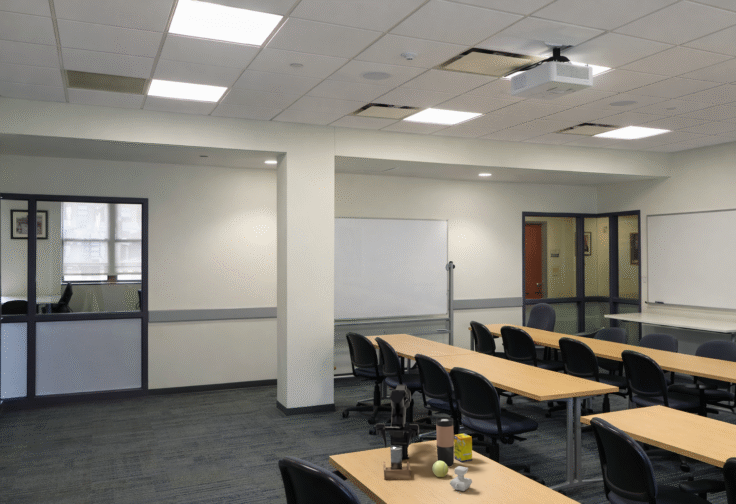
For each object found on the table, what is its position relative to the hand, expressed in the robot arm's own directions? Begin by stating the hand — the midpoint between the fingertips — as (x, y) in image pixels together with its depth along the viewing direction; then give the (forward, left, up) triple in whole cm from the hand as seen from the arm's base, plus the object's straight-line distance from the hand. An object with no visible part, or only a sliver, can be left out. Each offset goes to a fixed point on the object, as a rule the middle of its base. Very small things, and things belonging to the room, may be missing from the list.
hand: (396, 447), depth 254 cm
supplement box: (-34, -4, -11) cm, 36 cm away
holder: (+1, +1, -11) cm, 11 cm away
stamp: (-16, +26, -11) cm, 33 cm away
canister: (+1, +1, -10) cm, 10 cm away
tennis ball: (-16, +10, -11) cm, 22 cm away
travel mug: (-24, -2, -11) cm, 27 cm away
